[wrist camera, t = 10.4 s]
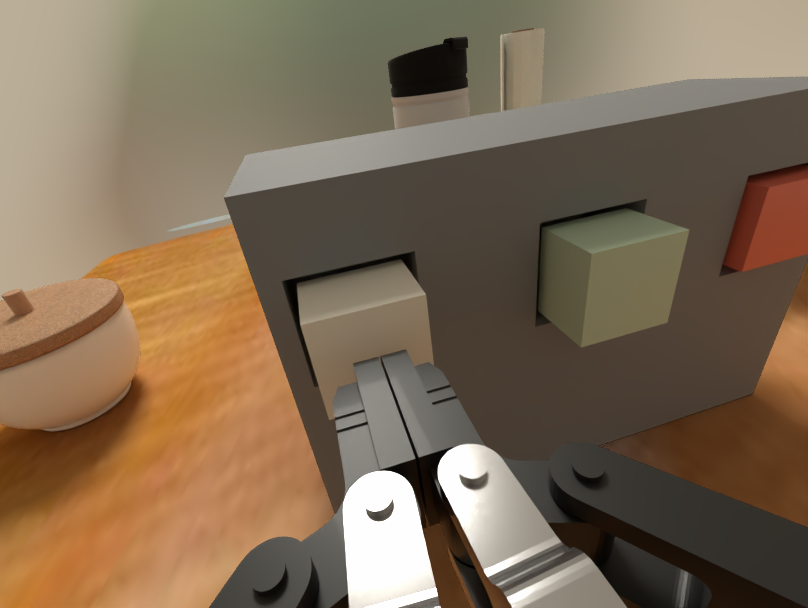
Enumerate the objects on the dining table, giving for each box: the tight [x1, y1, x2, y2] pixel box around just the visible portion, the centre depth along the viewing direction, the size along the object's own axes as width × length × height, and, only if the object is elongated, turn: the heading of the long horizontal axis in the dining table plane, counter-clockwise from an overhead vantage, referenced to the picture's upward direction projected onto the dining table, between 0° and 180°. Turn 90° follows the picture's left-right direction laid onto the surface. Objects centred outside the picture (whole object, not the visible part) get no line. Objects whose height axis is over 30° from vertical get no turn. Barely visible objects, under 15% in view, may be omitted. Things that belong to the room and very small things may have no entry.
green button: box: [538, 208, 689, 347], centre depth 15 cm, size 4×3×4 cm
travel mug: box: [388, 37, 470, 129], centre depth 36 cm, size 6×7×20 cm
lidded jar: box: [0, 278, 141, 432], centre depth 28 cm, size 11×11×9 cm
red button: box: [723, 164, 808, 272], centre depth 18 cm, size 4×3×4 cm
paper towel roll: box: [501, 29, 544, 111], centre depth 64 cm, size 7×6×21 cm
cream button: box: [297, 259, 434, 420], centre depth 13 cm, size 4×3×4 cm
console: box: [224, 77, 808, 514], centre depth 21 cm, size 24×8×16 cm, turn 105°
